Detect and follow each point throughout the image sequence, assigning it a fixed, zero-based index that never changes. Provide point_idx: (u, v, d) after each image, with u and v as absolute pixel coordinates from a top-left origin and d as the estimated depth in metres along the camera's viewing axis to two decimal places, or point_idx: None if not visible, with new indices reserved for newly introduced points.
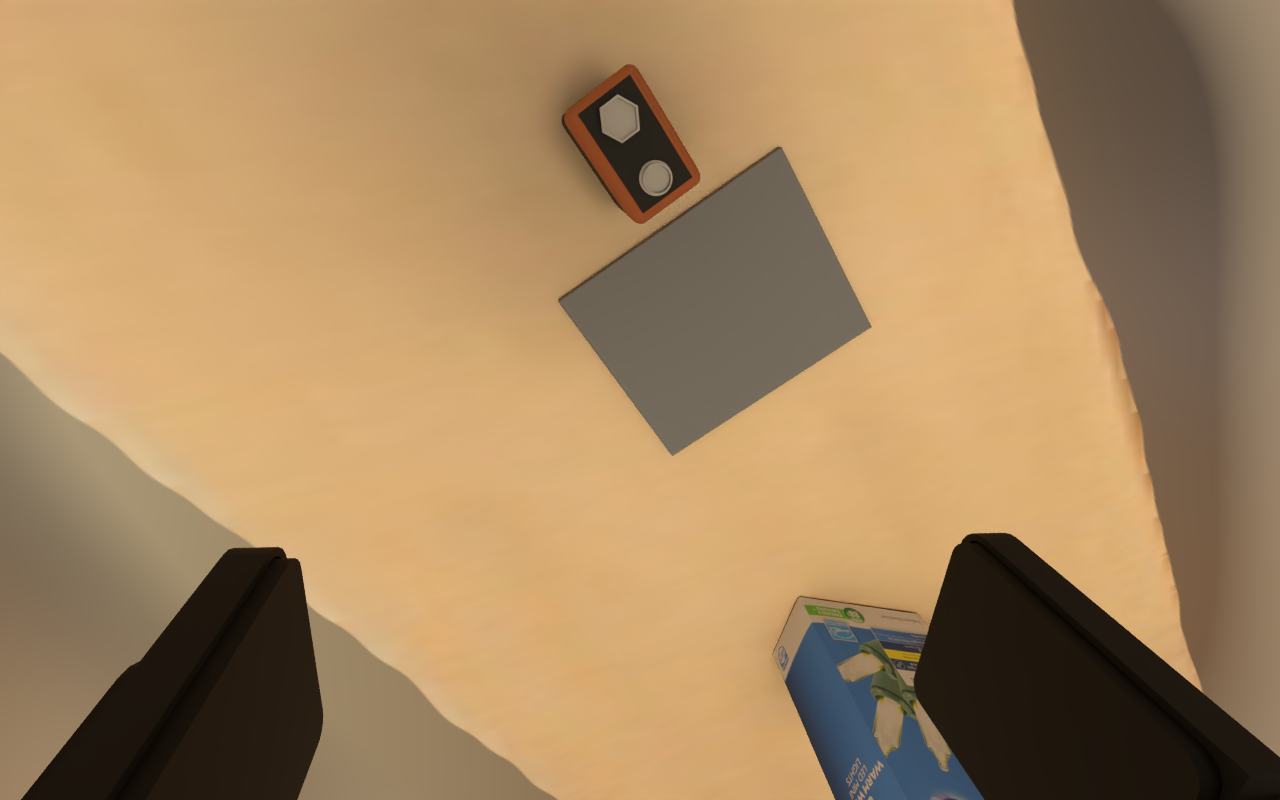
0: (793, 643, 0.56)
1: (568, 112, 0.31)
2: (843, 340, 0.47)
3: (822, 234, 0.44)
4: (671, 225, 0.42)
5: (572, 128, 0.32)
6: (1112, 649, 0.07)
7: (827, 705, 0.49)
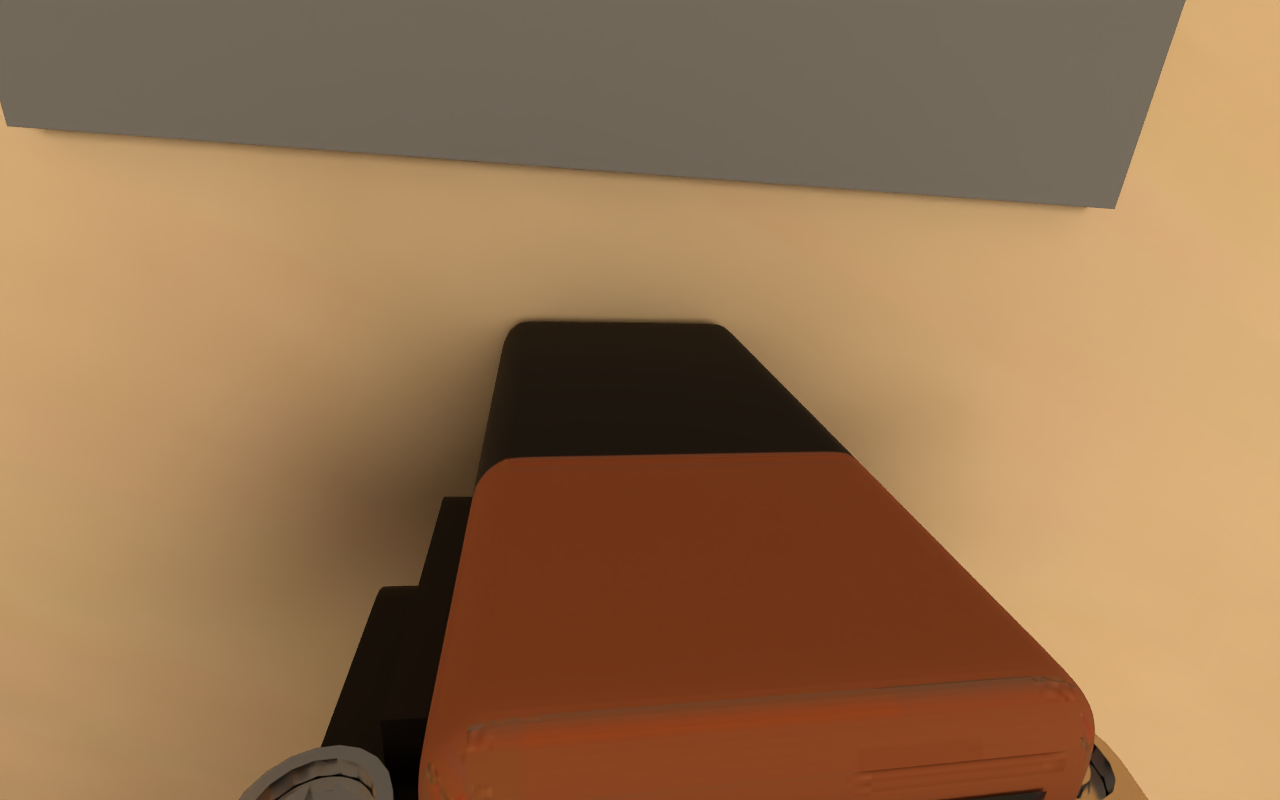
0: None
1: None
2: None
3: None
4: (623, 165, 0.10)
5: None
6: None
7: None
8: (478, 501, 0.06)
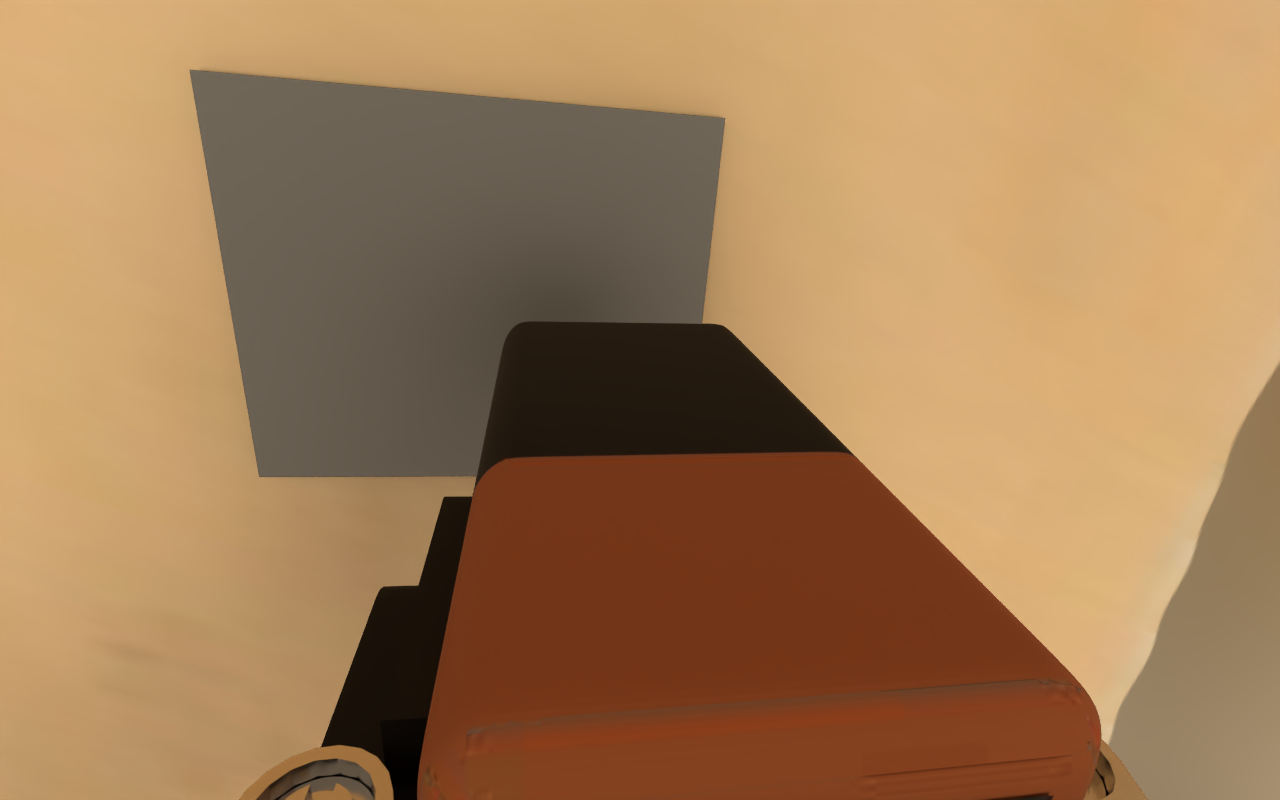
0: None
1: None
2: (267, 87, 0.21)
3: (237, 319, 0.23)
4: None
5: None
6: None
7: None
8: (478, 501, 0.06)
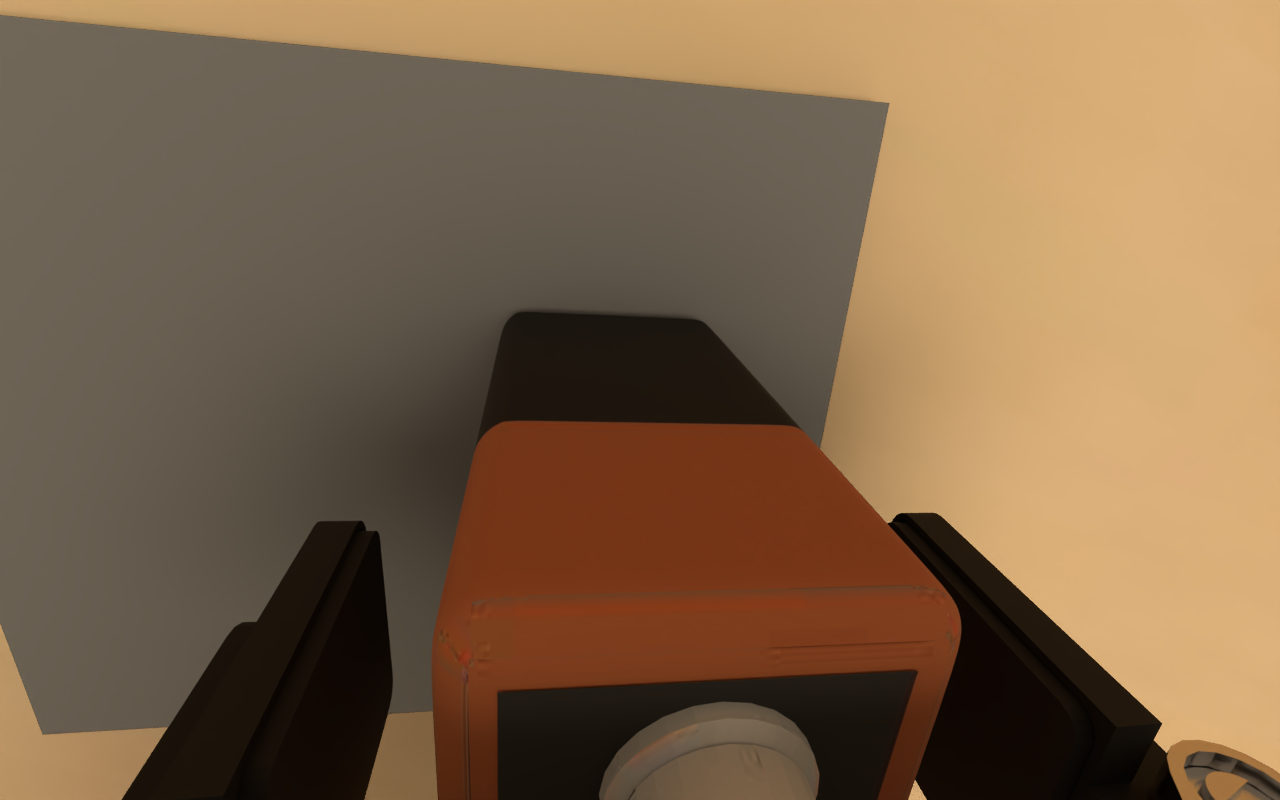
0: None
1: None
2: None
3: None
4: (429, 708, 0.16)
5: None
6: (1012, 616, 0.07)
7: None
8: (479, 454, 0.07)
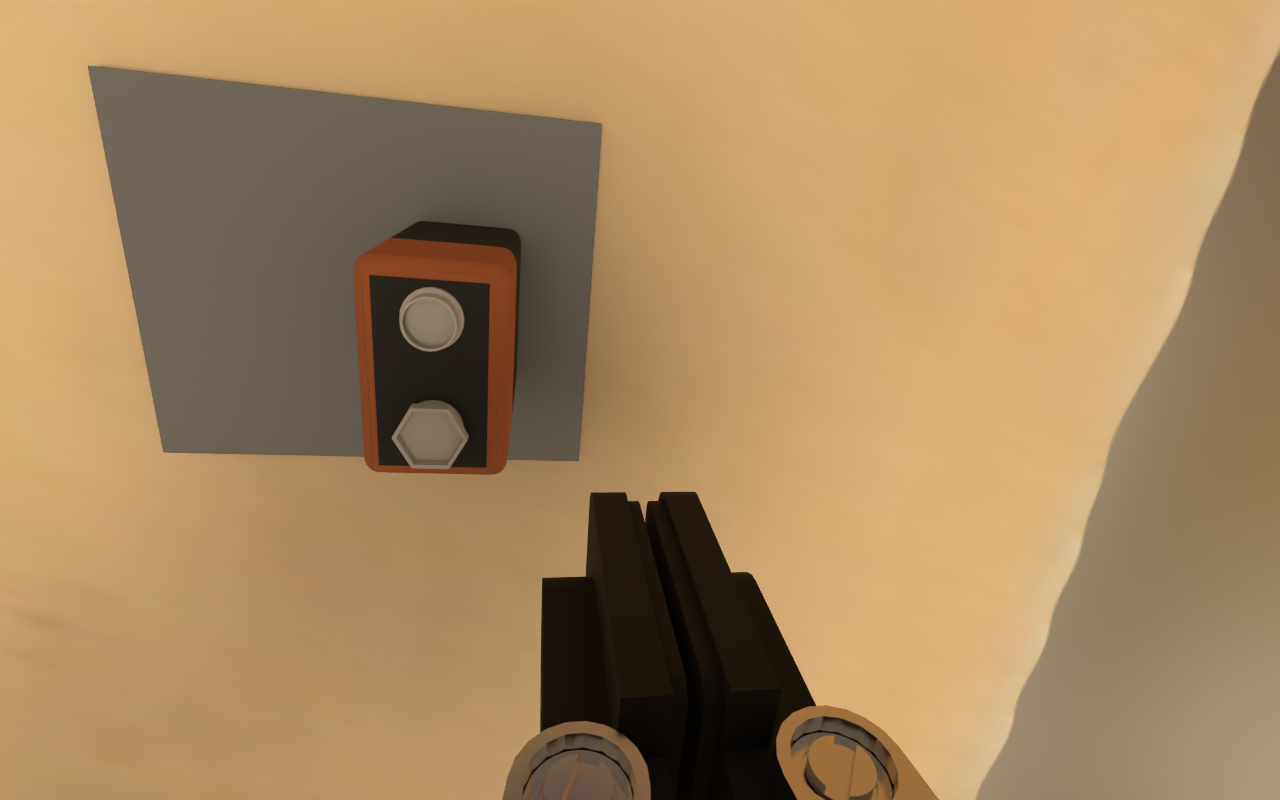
0: None
1: (496, 473, 0.20)
2: (162, 83, 0.22)
3: (138, 301, 0.25)
4: None
5: (505, 452, 0.20)
6: (703, 589, 0.07)
7: None
8: None
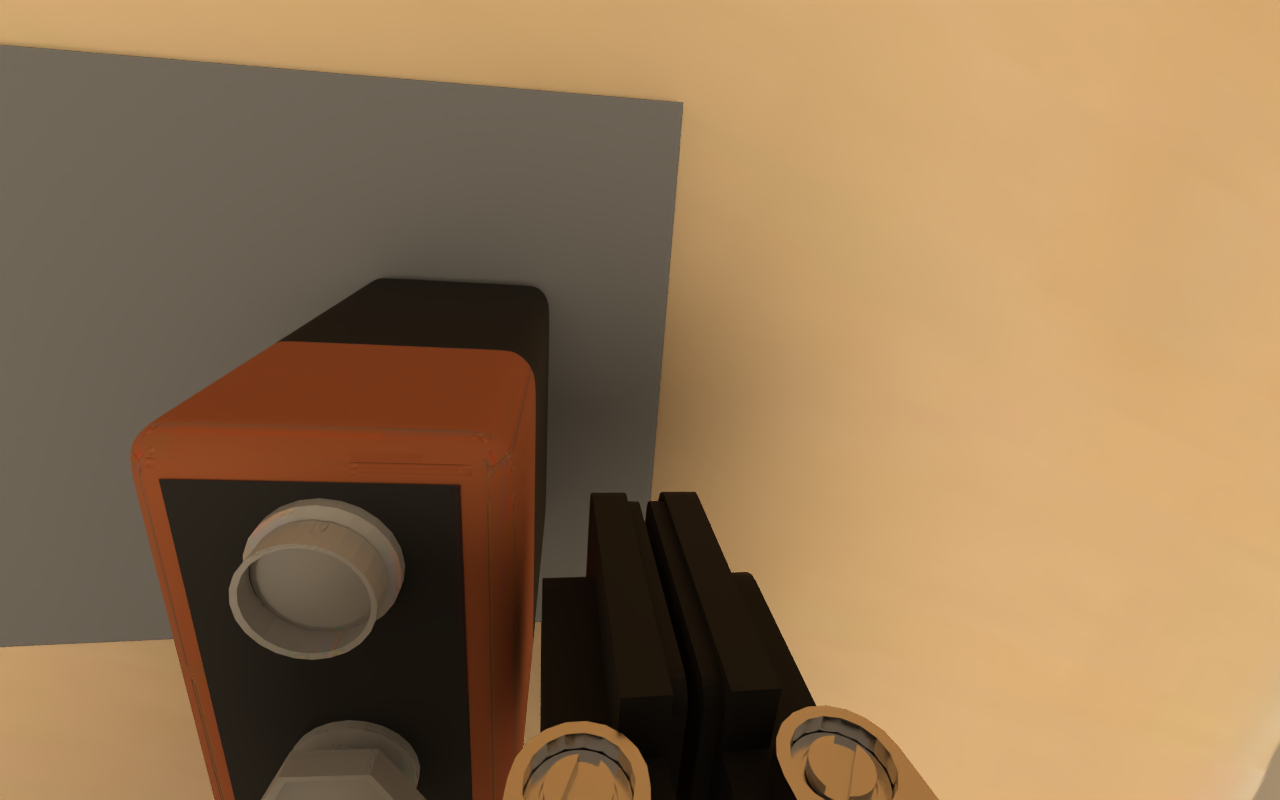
0: None
1: None
2: None
3: None
4: None
5: None
6: (703, 589, 0.07)
7: None
8: None
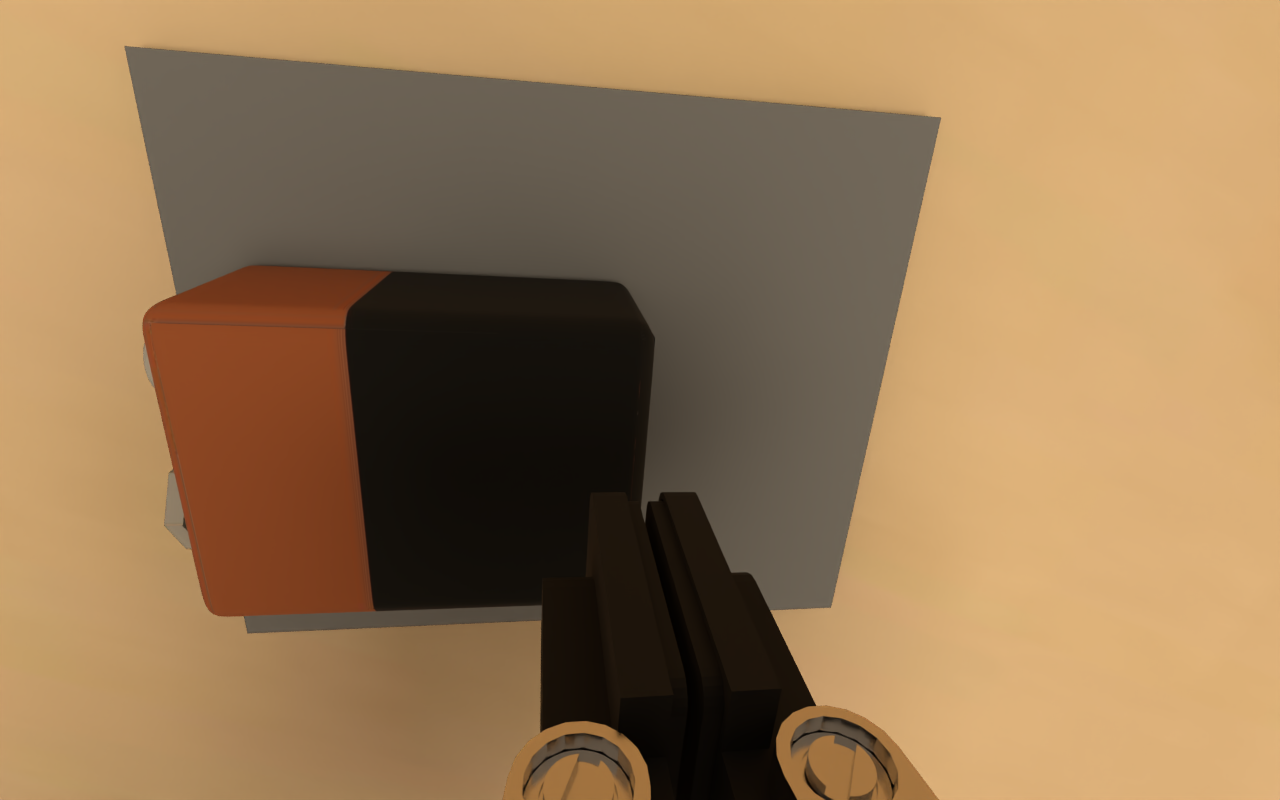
0: None
1: None
2: (250, 74, 0.13)
3: None
4: None
5: (209, 594, 0.13)
6: (703, 589, 0.07)
7: None
8: None
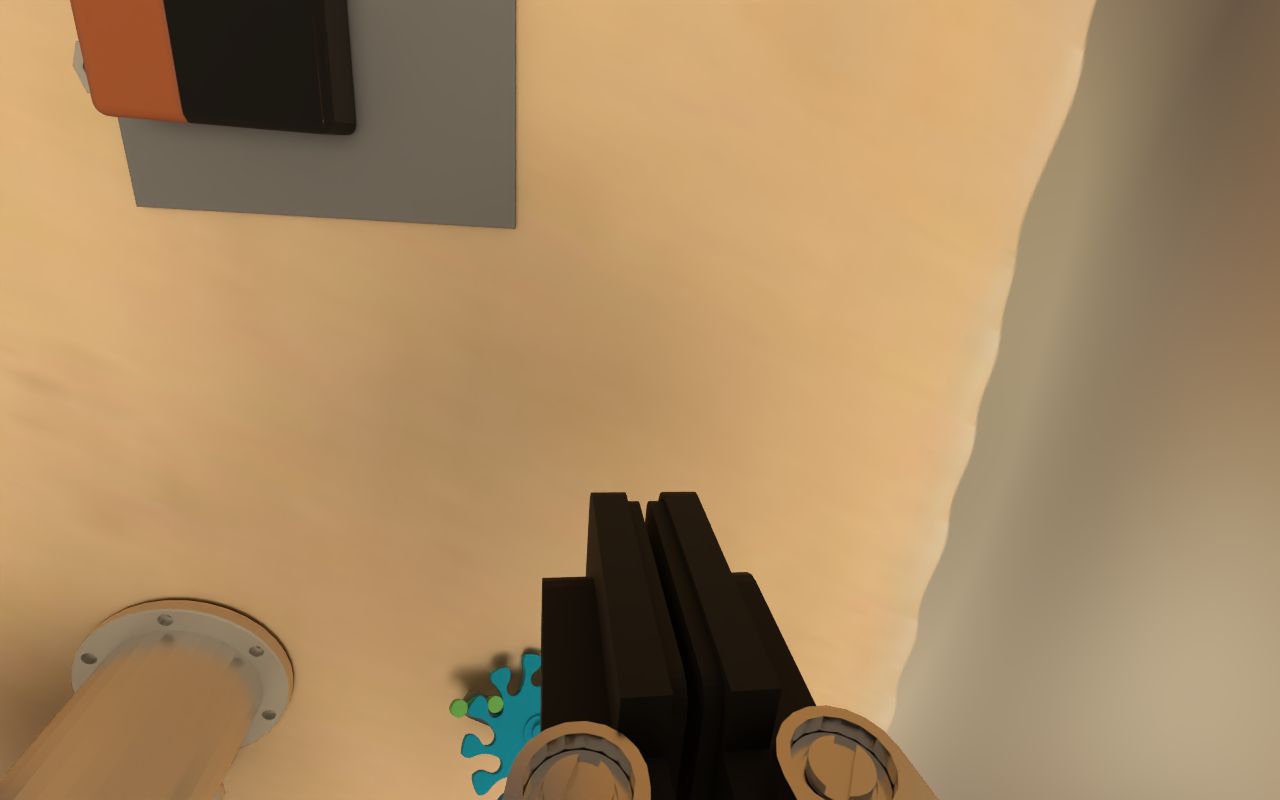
0: None
1: None
2: None
3: None
4: (329, 215, 0.32)
5: (94, 92, 0.25)
6: (703, 589, 0.07)
7: None
8: None
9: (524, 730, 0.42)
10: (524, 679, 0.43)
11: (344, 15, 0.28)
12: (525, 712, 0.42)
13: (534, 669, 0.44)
